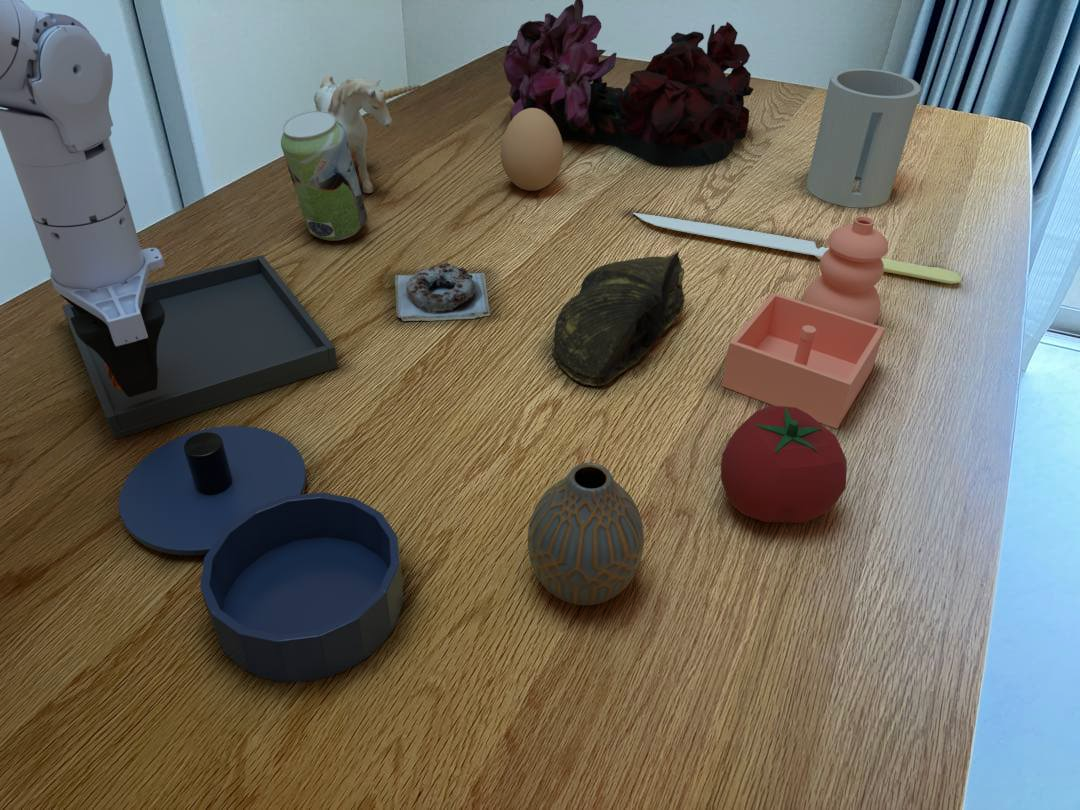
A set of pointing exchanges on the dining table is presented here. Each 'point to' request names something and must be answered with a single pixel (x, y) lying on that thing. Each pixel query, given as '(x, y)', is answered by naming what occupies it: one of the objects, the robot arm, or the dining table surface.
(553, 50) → the flower arrangement
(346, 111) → the unicorn figurine
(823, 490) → the tomato
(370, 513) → the tin
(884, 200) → the cup
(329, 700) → the dining table surface
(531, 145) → the egg
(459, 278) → the donut
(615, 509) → the vase
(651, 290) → the seashell
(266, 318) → the tray
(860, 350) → the pottery
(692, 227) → the knife
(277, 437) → the tin lid
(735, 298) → the dining table surface
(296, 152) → the beverage can
